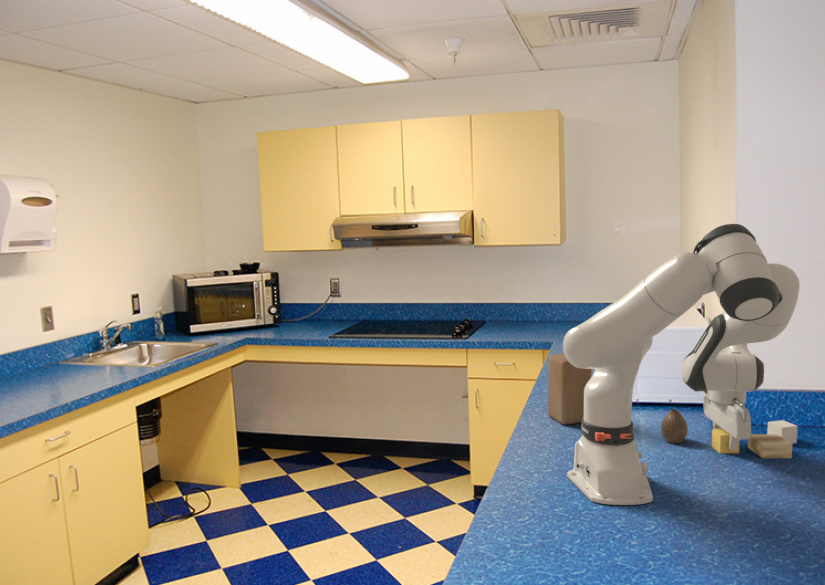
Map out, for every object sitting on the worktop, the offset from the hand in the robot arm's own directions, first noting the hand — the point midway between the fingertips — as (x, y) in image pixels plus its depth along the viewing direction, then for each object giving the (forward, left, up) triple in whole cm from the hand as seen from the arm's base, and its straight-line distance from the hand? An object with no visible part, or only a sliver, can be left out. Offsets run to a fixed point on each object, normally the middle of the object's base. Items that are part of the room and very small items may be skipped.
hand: (725, 443), depth 171 cm
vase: (+7, +11, -2) cm, 13 cm away
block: (+26, +36, -2) cm, 45 cm away
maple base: (-2, -10, -2) cm, 11 cm away
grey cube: (+6, -18, -2) cm, 19 cm away
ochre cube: (0, 0, -2) cm, 2 cm away
